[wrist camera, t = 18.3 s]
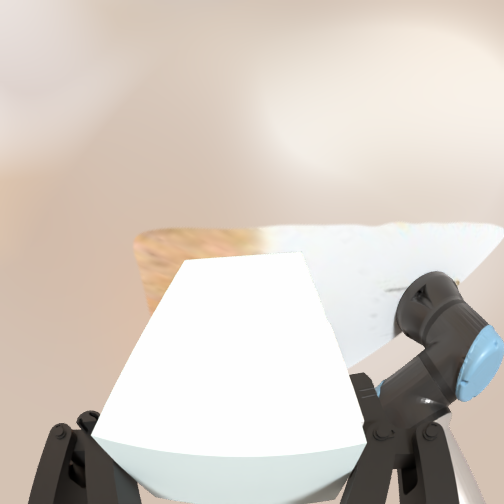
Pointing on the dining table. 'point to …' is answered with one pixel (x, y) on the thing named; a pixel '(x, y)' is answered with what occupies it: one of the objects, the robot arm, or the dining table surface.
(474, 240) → the dining table surface
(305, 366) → the white stepped block
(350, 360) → the dining table surface
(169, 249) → the dining table surface
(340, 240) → the dining table surface
